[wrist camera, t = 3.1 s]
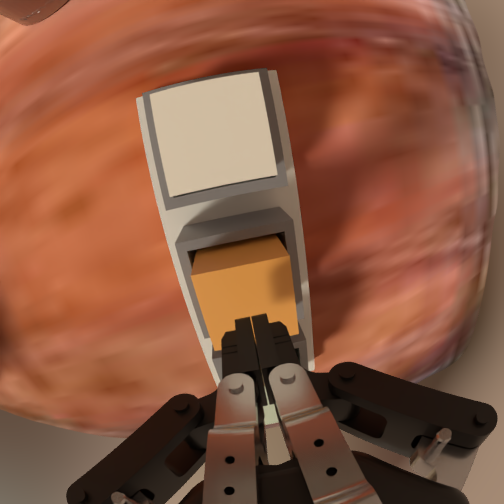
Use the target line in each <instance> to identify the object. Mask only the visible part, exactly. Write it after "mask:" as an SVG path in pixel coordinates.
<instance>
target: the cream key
mask: <svg viewBox="0 0 504 504" xmlns="http://www.w3.org/2000/svg"><path fill="white" fill-rule="evenodd" d="M150 101H151V107H152V113H153V118H154V124H155V130H156V135H157V140H158V145H159V150H160V155H161V160H162V165H163V169H164V174H165V178H166V183H167V187H168V192H169V196H170V197H172V196H177V195H181V194H185V193H189V192H194V191H198V190H203V189H207V188H212V187H216V186H221V185H226V184H231V183H236V182H241V181H247V180H252V179H257V178H263V177H269V176H275V175H278V174H277V168H276V162H275V156H274V150H273V145H272V139H271V133H270V128H269V123H268V117H267V112H266V107H265V101H264V96H263V91H262V86H261V81H260V77H259V72H254V73H246V74H239V75H232V76H226V77H220V78H215V79H209V80H204V81H200V82H195V83H191V84H186V85H182V86H178V87H174V88H170V89H167V90H163V91H159V92H156V93H153V94H150Z"/></svg>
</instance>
